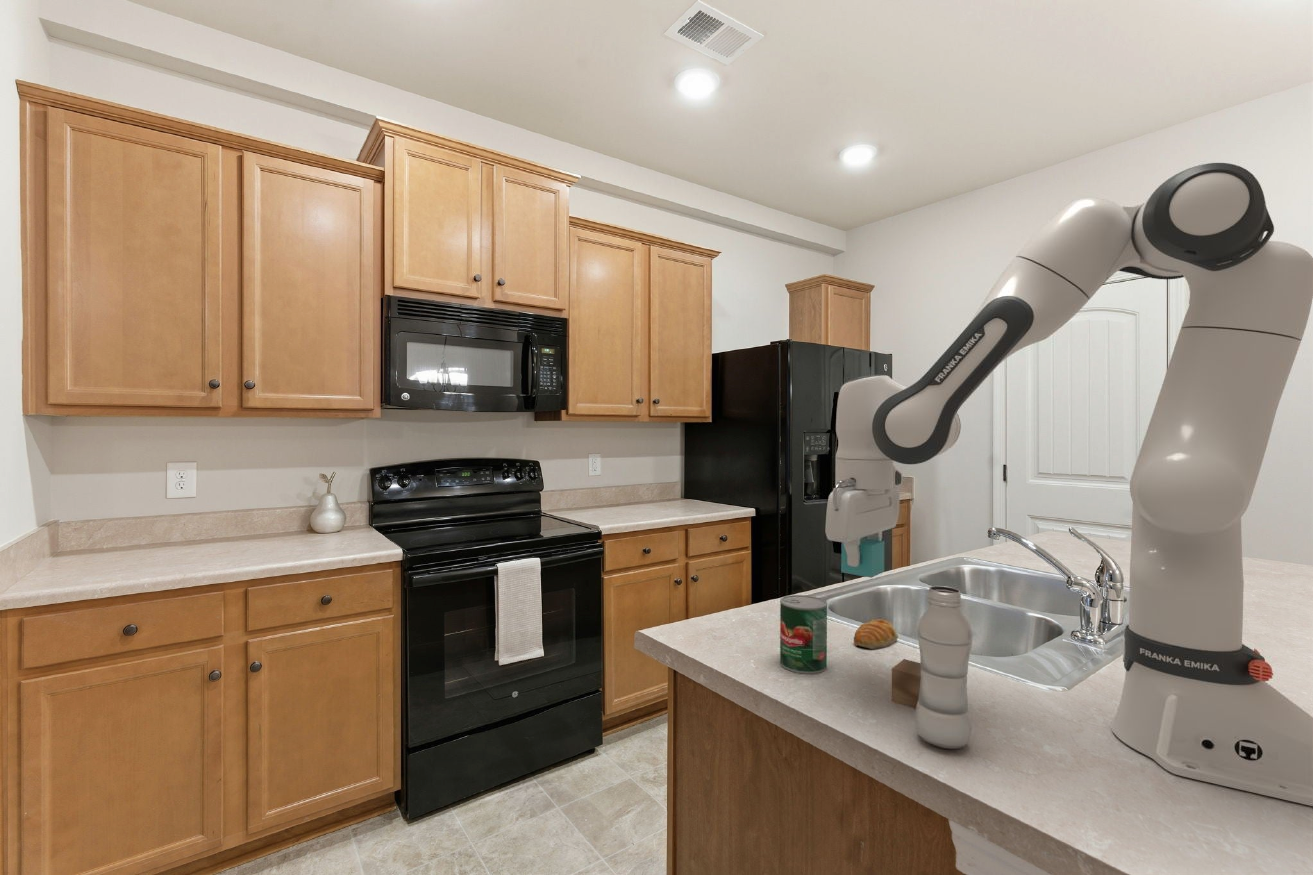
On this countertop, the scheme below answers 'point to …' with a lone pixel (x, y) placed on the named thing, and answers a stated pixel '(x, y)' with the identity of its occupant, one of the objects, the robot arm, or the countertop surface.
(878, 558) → the teal block
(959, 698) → the plastic bottle
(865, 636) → the pastry
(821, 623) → the canned tomato
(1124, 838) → the countertop surface
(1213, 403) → the robot arm
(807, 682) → the countertop surface
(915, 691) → the walnut block
